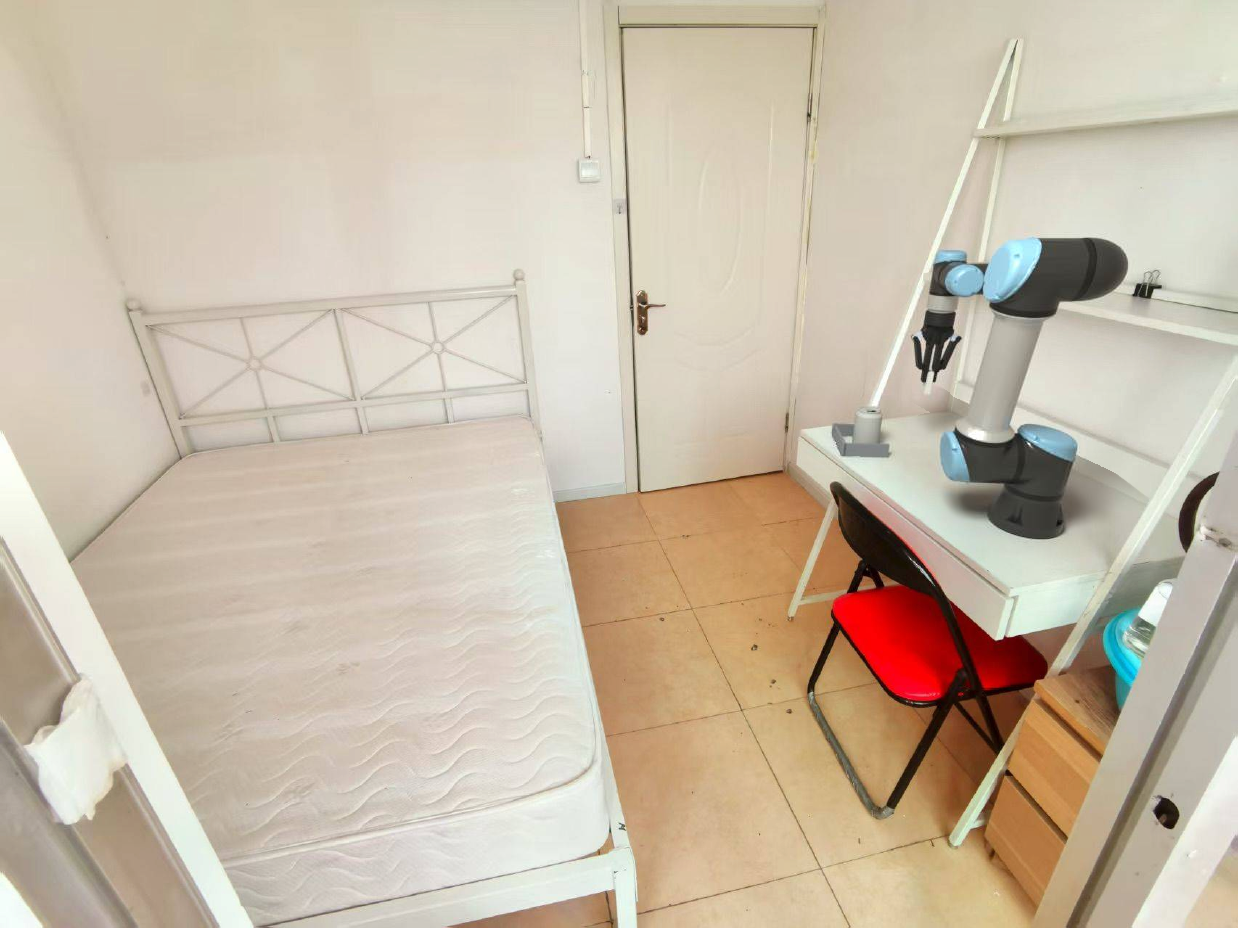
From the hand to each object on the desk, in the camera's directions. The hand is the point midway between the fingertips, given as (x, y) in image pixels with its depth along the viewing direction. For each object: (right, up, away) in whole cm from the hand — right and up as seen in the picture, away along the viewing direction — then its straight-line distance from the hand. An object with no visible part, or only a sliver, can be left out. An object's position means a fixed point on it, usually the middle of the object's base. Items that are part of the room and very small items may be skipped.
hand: (925, 392), depth 181 cm
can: (-14, -15, +10) cm, 23 cm away
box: (-16, -15, +10) cm, 24 cm away
